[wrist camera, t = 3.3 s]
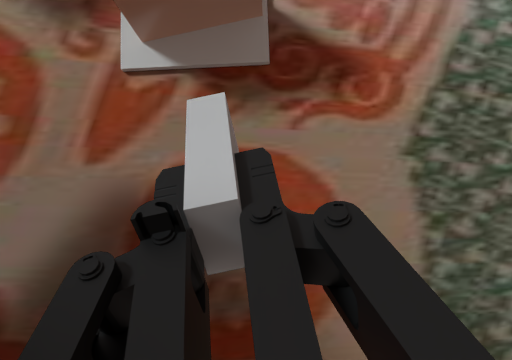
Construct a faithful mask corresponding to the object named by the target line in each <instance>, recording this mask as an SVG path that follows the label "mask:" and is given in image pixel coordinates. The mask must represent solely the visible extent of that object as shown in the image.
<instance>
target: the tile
mask: <svg viewBox="0 0 512 360" xmlns="http://www.w3.org/2000/svg"><path fill="white" fill-rule="evenodd" d="M113 1H114V2H115V3H116V5H117V6H118V8H119V9H120V11H121V12H122V14H123V15H124V17H125V18H126V20H127V21H128V22H129V24H130V25H131V27H132V28H133V30H134V31H135V33H136V34H137V36H138V37H139V38H140V40H141V41H142V42H146V41H151V40H155V39H160V38H164V37H169V36H173V35H178V34H182V33H187V32H191V31H196V30H200V29H205V28H209V27H214V26H219V25H223V24H228V23H232V22H237V21H241V20H246V19H250V18H255V17H259V16H263V12H262V0H113Z"/></svg>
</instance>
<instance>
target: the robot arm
mask: <svg viewBox="0 0 512 360" xmlns="http://www.w3.org/2000/svg"><path fill="white" fill-rule="evenodd" d="M130 220H131V222H132V224H133V226H134V228H135V230H136V232H137V235H138V237H139V239H140V245H139V246H138V247H136V248H135V249H133V250H131V251H130V252H128V253H125V254H123V255H121V256H119V257H117V258H115V259H114V257H113V256H112V255H111V254H109V253H108V252H101V251H100V252H94V253H91V254H88V255H86V256H84V257H82V258H81V259H80V260H78V261H77V262H76V263H74V265H73V266H72V267H71V269H70V270H69V271H68V273H67V275H66V277H65V278H64V280H63V282H62V284H61V285H60V287H59V289H58V291H57V292H56V294H55V296H54V298H53V299H52V301H51V303H50V304H49V306H48V308H47V310H46V311H45V313H44V315H43V317H42V318H41V320H40V322H39V324H38V325H37V327H36V329H35V331H34V332H33V334H32V336H31V338H30V339H29V341H28V343H27V345H26V346H25V348H24V350H23V352H22V353H21V355H20V357H19V359H18V360H211V346H210V316H209V289H208V286H207V283H206V280H205V278H204V266H205V269H206V272H207V274H208V275H211V274H216V273H221V272H225V271H230V270H235V269H240V268H245V272H246V281H247V290H248V298H249V307H250V315H251V324H252V332H253V341H254V350H255V358H256V360H322V356H321V352H320V348H319V344H318V340H317V336H316V332H315V328H314V323H313V319H312V315H311V311H310V307H309V303H308V299H307V295H306V291H305V287H304V284H314V285H322V286H323V289H324V290H325V292H326V294H327V295H328V297H329V298H330V300H331V301H332V303H333V305H334V306H335V308H336V309H337V311H338V313H339V314H340V316H341V317H342V319H343V320H344V322H345V324H346V325H347V327H348V328H349V330H350V332H351V333H352V335H353V336H354V338H355V340H356V341H357V343H358V344H359V346H360V347H361V349H362V351H363V352H364V354H365V355H366V357H367V359H368V360H495V359H494V358H493V357H492V356H491V355H490V353H489V352H488V351H487V350H486V349H485V348H484V347H483V346H482V345H481V343H480V342H479V341H478V340H477V339H476V338H475V337H474V336H473V335H472V333H471V332H470V331H469V330H468V329H467V328H466V327H465V326H464V324H463V323H462V322H461V321H460V320H459V319H458V318H457V317H456V316H455V314H454V313H453V312H452V311H451V310H450V309H449V308H448V307H447V306H446V304H445V303H444V302H443V301H442V300H441V299H440V298H439V297H438V296H437V294H436V293H435V292H434V291H433V290H432V289H431V288H430V287H429V285H428V284H427V283H426V282H425V281H424V280H423V279H422V278H421V277H420V275H419V274H418V273H417V272H416V271H415V270H414V269H413V268H412V267H411V265H410V264H409V263H408V262H407V261H406V260H405V259H404V258H403V256H402V255H401V254H400V253H399V252H398V251H397V250H396V249H395V248H394V246H393V245H392V244H391V243H390V242H389V241H388V240H387V239H386V238H385V236H384V235H383V234H382V233H381V232H380V231H379V230H378V229H377V228H376V226H375V225H374V224H373V223H372V222H371V221H370V220H369V219H368V217H367V216H366V215H365V214H364V213H363V212H362V211H361V210H360V209H359V208H358V207H357V206H355V205H354V204H352V203H348V202H345V201H334V202H329V203H326V204H324V205H322V206H321V207H319V208H318V209H317V211H316V212H315V213H314V214H301V213H296V212H293V211H291V210H290V209H288V208H287V207H286V206H285V205H284V204H283V202H282V199H281V195H280V191H279V187H278V183H277V179H276V175H275V171H274V167H273V163H272V159H271V155H270V154H269V153H268V152H267V151H266V150H265V149H264V148H258V149H253V150H248V151H244V152H239V150H238V145H237V141H236V137H235V133H234V129H233V125H232V121H231V116H230V112H229V108H228V104H227V100H226V96H225V92H223V93H218V94H213V95H209V96H204V97H199V98H194V99H190V100H187V116H186V147H185V165H182V166H177V167H172V168H168V169H163V170H162V172H161V173H160V175H159V176H158V178H157V179H156V184H155V192H154V200H152V201H150V202H147V203H145V204H143V205H142V206H140V207H139V208H138V209H137V210H136V211H135V212H134V213H133V215H132V217H131V219H130Z"/></svg>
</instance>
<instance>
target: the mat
mask: <svg viewBox="0 0 512 360" xmlns="http://www.w3.org/2000/svg"><path fill="white" fill-rule="evenodd" d="M262 12H263V16H259V17H255V18H250V19H246V20H241V21H237V22H232V23H228V24H223V25H219V26H214V27H209V28H205V29H200V30H196V31H191V32H187V33H182V34H178V35H173V36H169V37H164V38H160V39H155V40H151V41H146V42H142V41H141V40H140V38H139V37H138V36H137V34H136V33H135V31H134V30H133V28H132V27H131V25H130V24H129V22H128V21H127V20H126V18H125V17H124V15H123V14H122V12H121V70H122V71H123V72H125V71H146V70H166V69H187V68H207V67H228V66H248V65H268V64H270V61H269V37H268V12H267V0H262Z"/></svg>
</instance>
